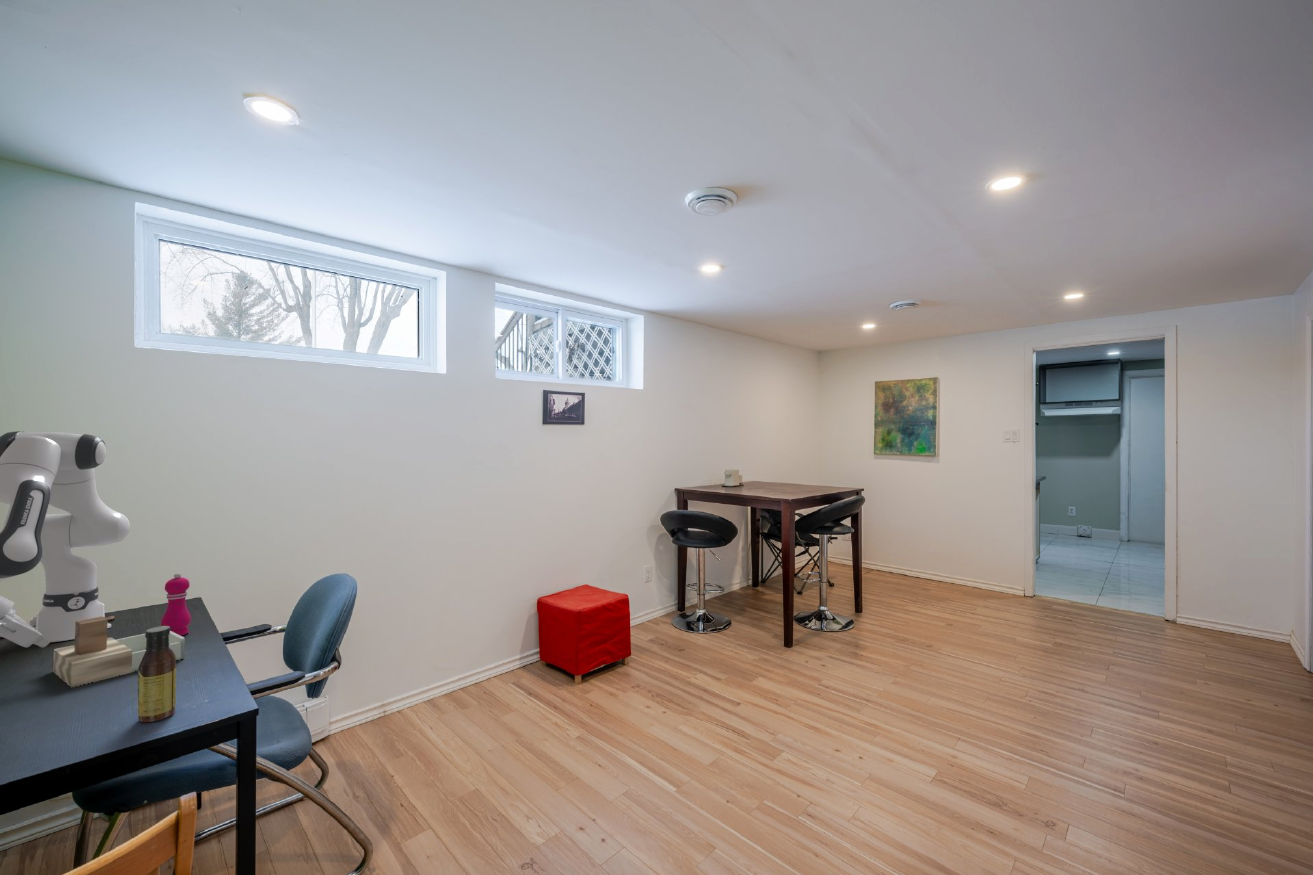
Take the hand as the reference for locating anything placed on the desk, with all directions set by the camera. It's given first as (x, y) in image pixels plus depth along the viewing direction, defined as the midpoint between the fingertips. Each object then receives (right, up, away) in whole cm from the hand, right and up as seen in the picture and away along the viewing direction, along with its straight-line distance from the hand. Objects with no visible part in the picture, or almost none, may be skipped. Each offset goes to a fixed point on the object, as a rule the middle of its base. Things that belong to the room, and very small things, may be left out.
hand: (45, 643), depth 135 cm
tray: (+10, -11, +16) cm, 22 cm away
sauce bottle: (+44, -10, -17) cm, 48 cm away
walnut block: (+4, -4, +7) cm, 9 cm away
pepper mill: (+1, -11, +36) cm, 37 cm away
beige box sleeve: (+4, -10, +7) cm, 13 cm away
